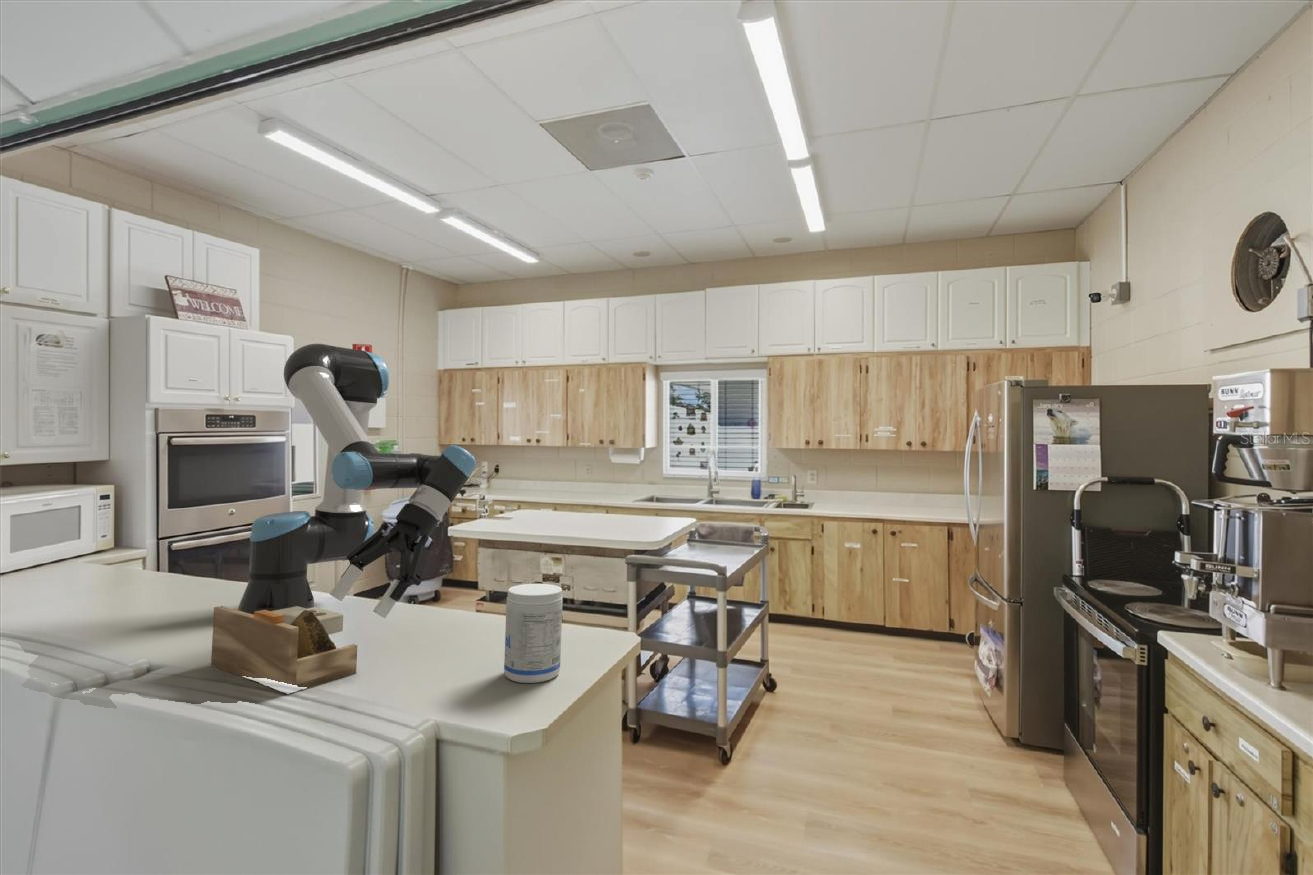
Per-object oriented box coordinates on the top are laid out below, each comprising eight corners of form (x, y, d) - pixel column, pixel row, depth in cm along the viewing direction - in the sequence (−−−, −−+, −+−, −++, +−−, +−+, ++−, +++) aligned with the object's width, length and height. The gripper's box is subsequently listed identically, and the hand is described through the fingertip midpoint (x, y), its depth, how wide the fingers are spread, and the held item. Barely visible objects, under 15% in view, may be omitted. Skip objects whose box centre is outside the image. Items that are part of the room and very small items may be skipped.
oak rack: (278, 648, 113) (281, 589, 113) (356, 673, 100) (359, 606, 101) (209, 665, 103) (213, 600, 103) (286, 695, 90) (289, 621, 91)
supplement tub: (499, 669, 104) (502, 584, 104) (552, 662, 108) (555, 581, 108) (509, 688, 95) (512, 596, 96) (566, 681, 99) (569, 592, 99)
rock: (245, 655, 97) (274, 659, 92) (278, 607, 102) (308, 607, 97) (300, 681, 104) (331, 685, 98) (329, 634, 109) (359, 636, 104)
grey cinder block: (297, 602, 135) (344, 613, 125) (296, 620, 134) (343, 632, 125) (263, 608, 128) (310, 620, 119) (262, 627, 128) (309, 641, 119)
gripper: (373, 493, 125) (304, 582, 114) (453, 511, 113) (385, 613, 102) (396, 512, 130) (332, 599, 119) (475, 531, 118) (412, 631, 107)
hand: (356, 606), depth 111 cm, fingers open, 13 cm apart
